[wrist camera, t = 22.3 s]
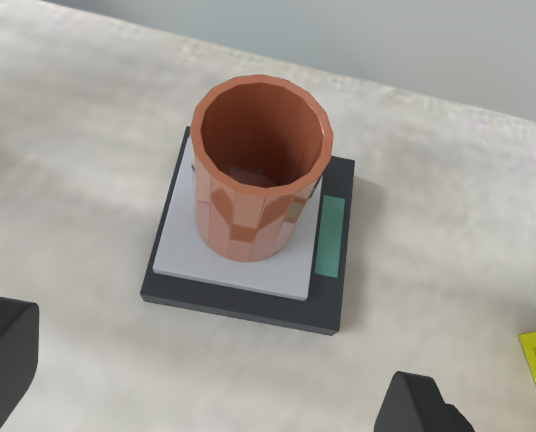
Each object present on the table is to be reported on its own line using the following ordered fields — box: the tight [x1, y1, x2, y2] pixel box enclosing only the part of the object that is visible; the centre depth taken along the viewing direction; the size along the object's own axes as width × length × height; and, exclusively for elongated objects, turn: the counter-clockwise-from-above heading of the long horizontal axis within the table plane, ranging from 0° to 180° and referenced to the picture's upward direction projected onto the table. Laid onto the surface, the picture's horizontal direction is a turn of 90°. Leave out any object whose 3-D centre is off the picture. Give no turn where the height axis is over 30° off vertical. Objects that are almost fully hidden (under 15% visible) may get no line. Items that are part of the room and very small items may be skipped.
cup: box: [190, 75, 333, 262], centre depth 26 cm, size 7×7×10 cm
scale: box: [140, 126, 355, 336], centre depth 32 cm, size 13×13×3 cm
